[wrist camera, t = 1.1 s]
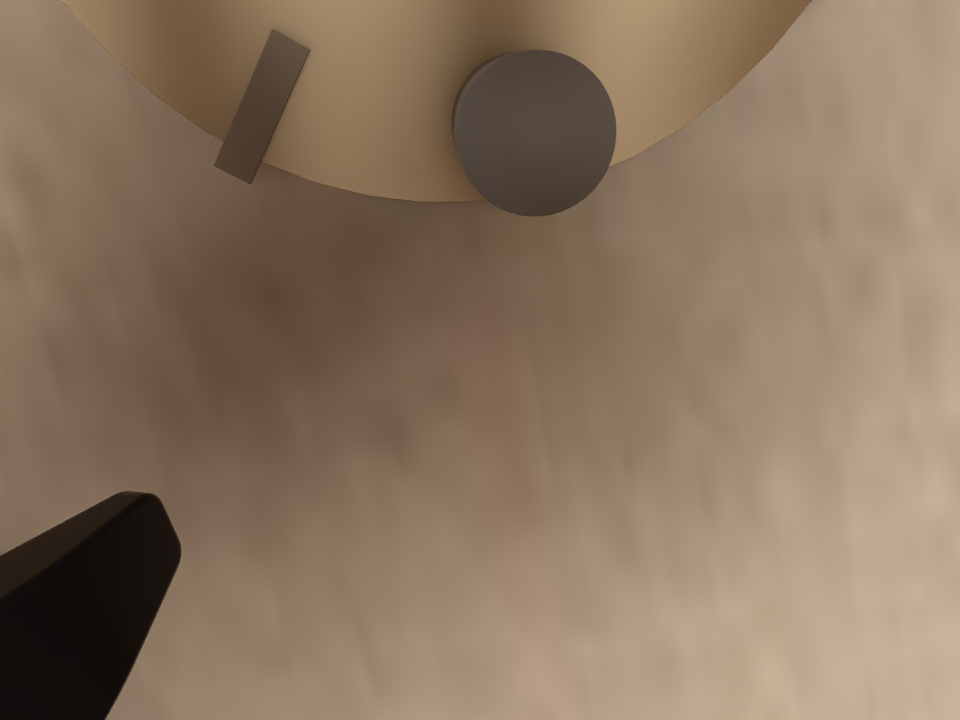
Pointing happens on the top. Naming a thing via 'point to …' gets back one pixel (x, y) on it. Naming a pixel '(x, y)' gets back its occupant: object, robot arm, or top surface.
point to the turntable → (439, 85)
